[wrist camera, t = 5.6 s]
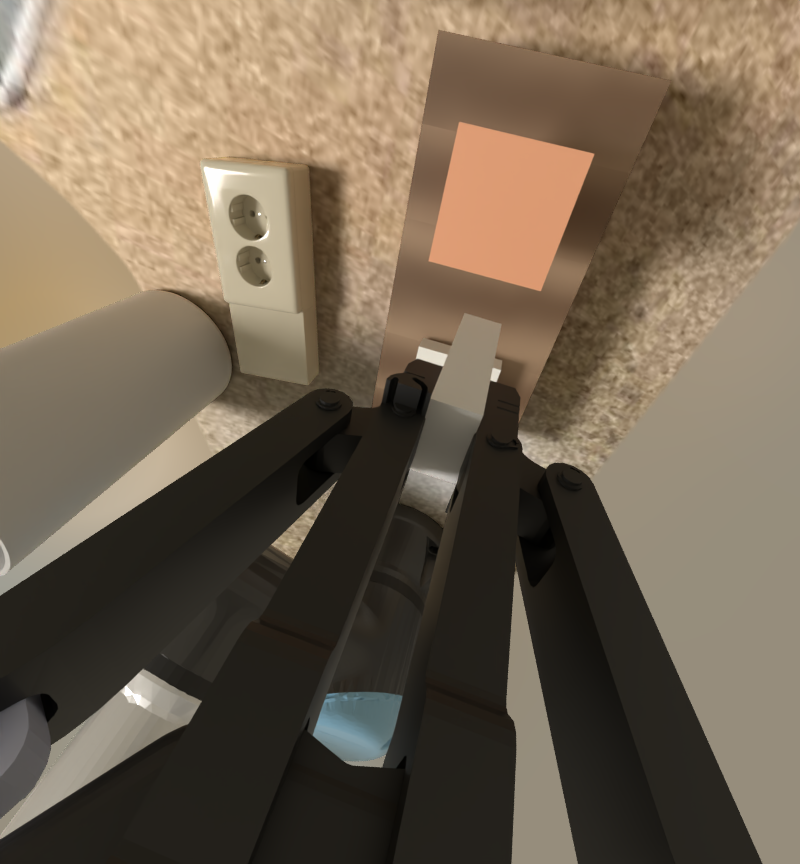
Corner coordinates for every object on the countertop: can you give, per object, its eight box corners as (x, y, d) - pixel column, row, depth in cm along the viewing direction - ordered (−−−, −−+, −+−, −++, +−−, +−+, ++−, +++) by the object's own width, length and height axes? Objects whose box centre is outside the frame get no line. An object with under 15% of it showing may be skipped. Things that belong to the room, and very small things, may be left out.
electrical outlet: (235, 377, 41) (195, 158, 31) (256, 359, 45) (227, 156, 34) (303, 390, 40) (287, 167, 30) (320, 371, 43) (310, 164, 33)
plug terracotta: (538, 259, 27) (540, 291, 22) (449, 235, 28) (428, 261, 22) (579, 149, 24) (594, 153, 18) (475, 125, 24) (459, 121, 19)
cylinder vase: (244, 405, 48) (43, 595, 28) (149, 388, 50) (-99, 552, 31) (222, 295, 41) (-70, 446, 21) (112, 280, 43) (-246, 405, 23)
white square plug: (483, 392, 39) (475, 436, 33) (421, 374, 39) (403, 414, 34) (505, 332, 35) (501, 370, 30) (436, 313, 36) (418, 346, 30)
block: (503, 427, 41) (500, 465, 37) (386, 392, 42) (368, 424, 38) (645, 91, 26) (671, 80, 21) (455, 48, 27) (438, 29, 22)
